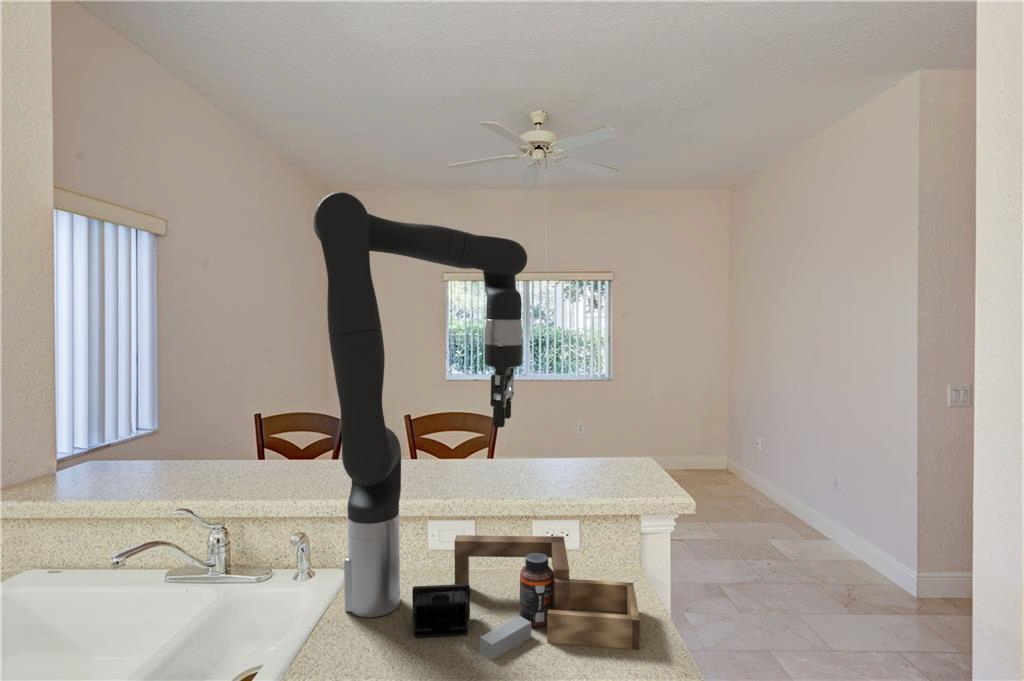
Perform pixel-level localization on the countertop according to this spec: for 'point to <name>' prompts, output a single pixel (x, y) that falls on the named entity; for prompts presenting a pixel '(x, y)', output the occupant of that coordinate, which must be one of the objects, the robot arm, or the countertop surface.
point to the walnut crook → (517, 548)
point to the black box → (441, 610)
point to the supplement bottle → (536, 589)
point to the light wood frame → (597, 616)
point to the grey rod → (505, 637)
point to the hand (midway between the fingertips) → (502, 422)
